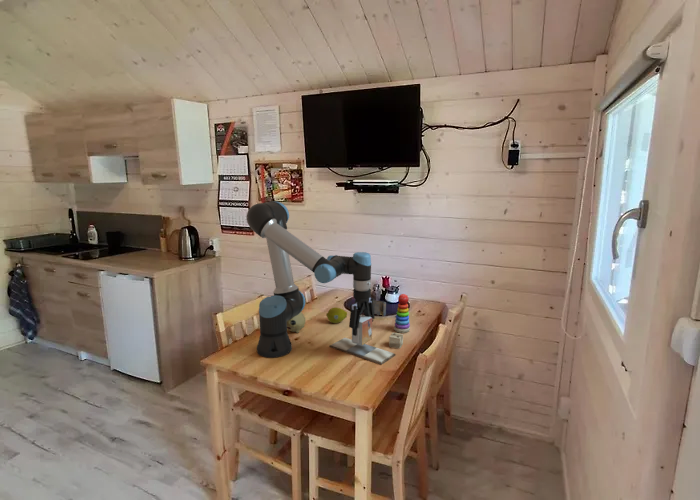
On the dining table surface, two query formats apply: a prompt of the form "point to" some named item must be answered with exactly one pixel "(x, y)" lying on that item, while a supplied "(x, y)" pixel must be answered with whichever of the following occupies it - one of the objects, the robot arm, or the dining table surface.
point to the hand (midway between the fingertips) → (362, 338)
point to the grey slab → (379, 307)
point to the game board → (363, 351)
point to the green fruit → (336, 315)
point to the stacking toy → (402, 315)
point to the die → (396, 340)
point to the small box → (364, 330)
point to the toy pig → (296, 323)
